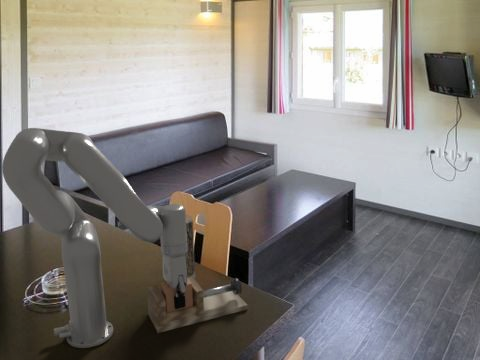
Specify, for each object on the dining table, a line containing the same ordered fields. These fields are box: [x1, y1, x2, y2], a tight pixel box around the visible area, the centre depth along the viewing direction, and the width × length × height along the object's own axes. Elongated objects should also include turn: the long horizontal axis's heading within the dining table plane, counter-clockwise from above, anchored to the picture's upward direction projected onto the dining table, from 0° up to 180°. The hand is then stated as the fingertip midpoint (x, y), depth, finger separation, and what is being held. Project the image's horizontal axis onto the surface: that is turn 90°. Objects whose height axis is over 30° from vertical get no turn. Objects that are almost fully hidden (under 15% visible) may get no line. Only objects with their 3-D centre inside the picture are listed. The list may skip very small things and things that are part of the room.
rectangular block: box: [160, 278, 193, 313], centre depth 136 cm, size 8×5×8 cm, turn 115°
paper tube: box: [185, 215, 196, 280], centre depth 151 cm, size 7×7×25 cm
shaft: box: [192, 277, 242, 301], centre depth 141 cm, size 16×5×5 cm, turn 115°
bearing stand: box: [146, 278, 248, 334], centre depth 139 cm, size 28×11×10 cm, turn 115°
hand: (177, 302), depth 136 cm, fingers closed on rectangular block, 5 cm apart
